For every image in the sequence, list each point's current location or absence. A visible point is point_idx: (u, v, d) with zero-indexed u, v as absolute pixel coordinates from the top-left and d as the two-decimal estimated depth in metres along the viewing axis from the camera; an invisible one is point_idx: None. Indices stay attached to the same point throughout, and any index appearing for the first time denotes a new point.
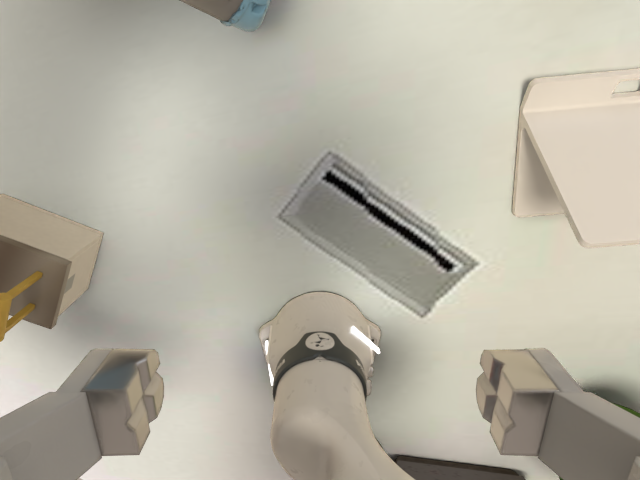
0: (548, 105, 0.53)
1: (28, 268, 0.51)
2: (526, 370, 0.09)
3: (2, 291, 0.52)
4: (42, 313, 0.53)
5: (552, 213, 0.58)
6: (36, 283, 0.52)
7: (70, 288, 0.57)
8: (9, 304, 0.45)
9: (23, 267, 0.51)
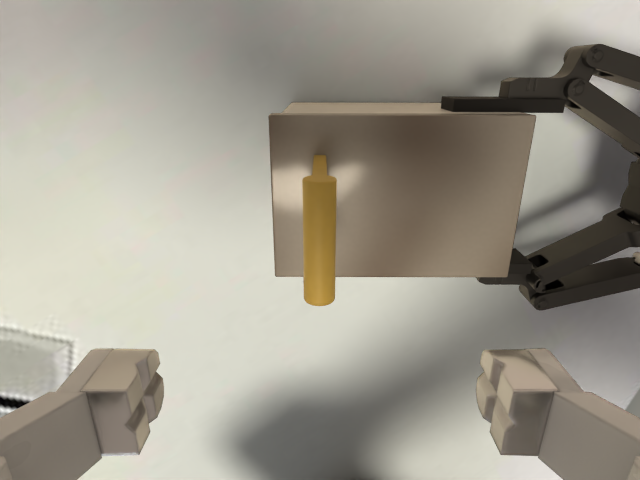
0: None
1: (342, 243, 0.26)
2: (526, 370, 0.09)
3: (384, 170, 0.24)
4: (295, 150, 0.24)
5: None
6: None
7: None
8: (304, 286, 0.20)
9: (351, 242, 0.26)
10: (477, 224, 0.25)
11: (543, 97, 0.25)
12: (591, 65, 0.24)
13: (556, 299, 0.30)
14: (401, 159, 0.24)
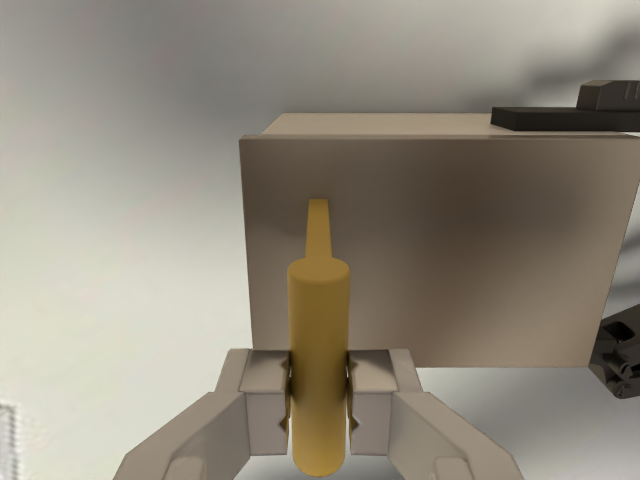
0: None
1: (351, 322, 0.18)
2: (376, 370, 0.09)
3: (416, 220, 0.16)
4: (281, 192, 0.16)
5: None
6: None
7: None
8: (292, 437, 0.12)
9: (364, 321, 0.18)
10: (550, 296, 0.17)
11: None
12: None
13: None
14: (441, 205, 0.16)
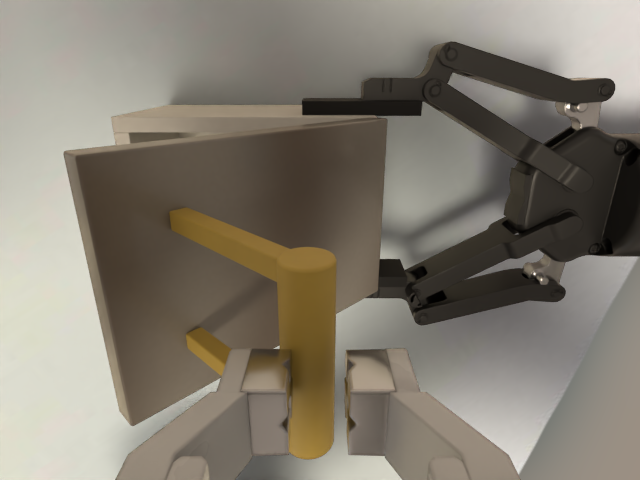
0: None
1: (224, 327, 0.17)
2: (373, 370, 0.09)
3: (264, 210, 0.17)
4: (137, 211, 0.13)
5: None
6: (192, 302, 0.16)
7: None
8: (291, 435, 0.12)
9: (236, 320, 0.18)
10: (354, 246, 0.22)
11: (401, 99, 0.24)
12: (446, 64, 0.23)
13: (437, 313, 0.28)
14: (281, 191, 0.18)
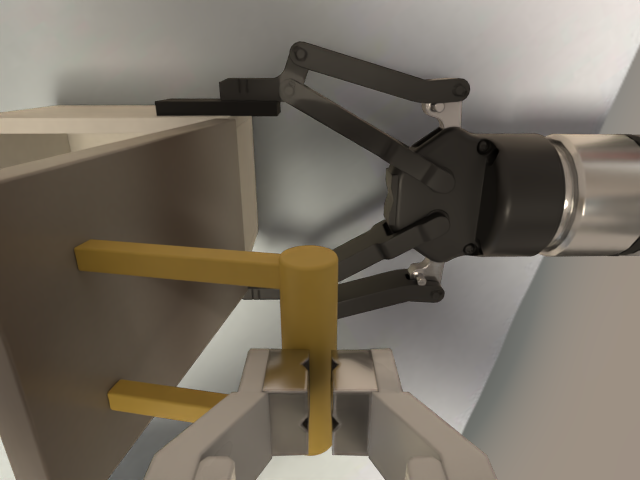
0: None
1: (140, 371, 0.15)
2: (357, 370, 0.09)
3: (158, 228, 0.15)
4: (40, 255, 0.10)
5: None
6: (108, 353, 0.13)
7: None
8: None
9: (149, 360, 0.15)
10: None
11: (259, 99, 0.23)
12: (297, 64, 0.22)
13: None
14: (169, 204, 0.16)
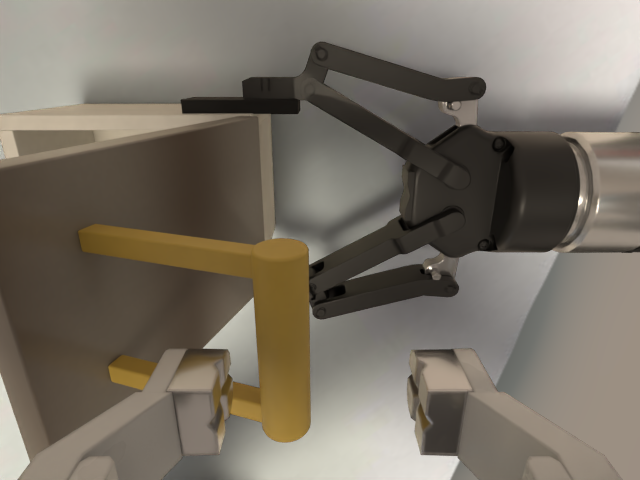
0: None
1: (144, 350, 0.16)
2: (446, 370, 0.09)
3: (167, 217, 0.16)
4: (43, 234, 0.11)
5: None
6: (110, 329, 0.14)
7: None
8: (278, 423, 0.12)
9: (154, 339, 0.16)
10: (245, 243, 0.23)
11: (280, 98, 0.24)
12: (318, 64, 0.23)
13: (335, 308, 0.29)
14: (180, 195, 0.17)
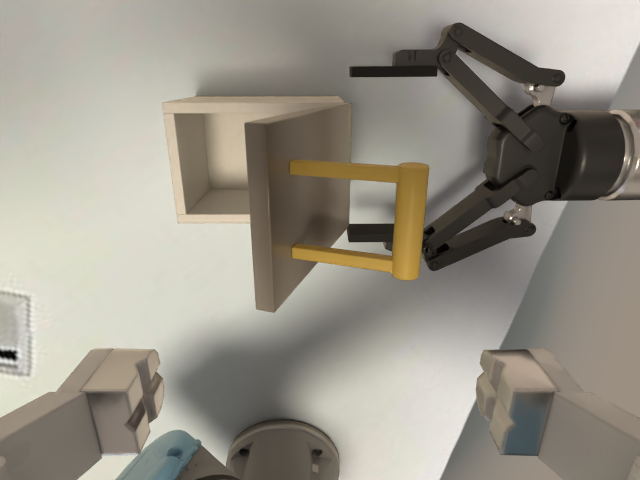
0: None
1: None
2: (526, 370, 0.09)
3: None
4: (280, 160, 0.21)
5: None
6: (293, 225, 0.24)
7: None
8: (404, 268, 0.22)
9: (306, 240, 0.26)
10: (341, 192, 0.32)
11: (422, 65, 0.33)
12: (453, 38, 0.32)
13: (444, 260, 0.38)
14: (320, 151, 0.26)
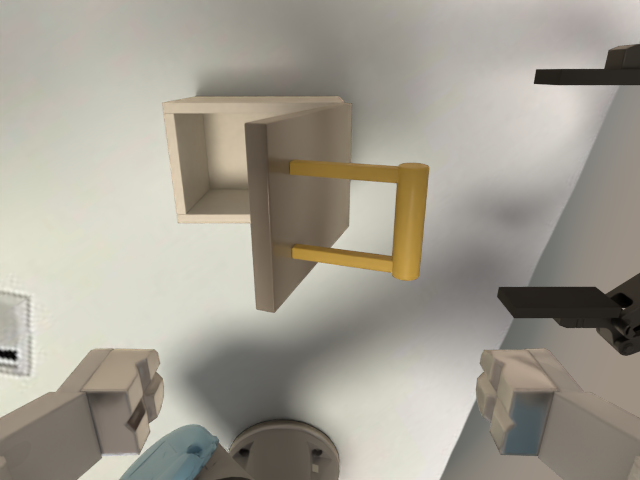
0: None
1: None
2: (526, 370, 0.09)
3: None
4: (280, 160, 0.21)
5: None
6: (293, 226, 0.24)
7: None
8: (405, 268, 0.22)
9: (306, 241, 0.26)
10: (341, 192, 0.32)
11: None
12: None
13: None
14: (320, 151, 0.26)
